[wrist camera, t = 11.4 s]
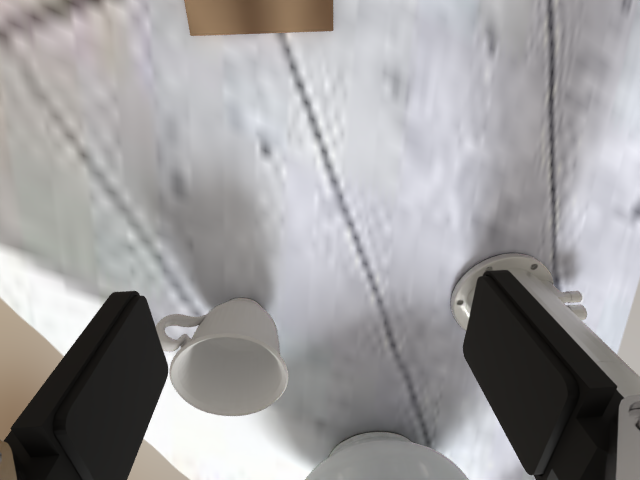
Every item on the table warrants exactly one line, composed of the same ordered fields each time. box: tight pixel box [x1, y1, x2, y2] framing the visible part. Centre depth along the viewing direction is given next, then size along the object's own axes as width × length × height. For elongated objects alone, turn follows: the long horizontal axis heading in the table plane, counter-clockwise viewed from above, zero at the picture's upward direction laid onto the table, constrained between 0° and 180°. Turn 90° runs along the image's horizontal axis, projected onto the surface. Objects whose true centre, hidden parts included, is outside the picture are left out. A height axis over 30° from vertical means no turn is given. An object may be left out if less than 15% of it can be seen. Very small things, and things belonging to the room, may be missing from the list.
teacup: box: [156, 298, 288, 416], centre depth 41 cm, size 12×15×10 cm
